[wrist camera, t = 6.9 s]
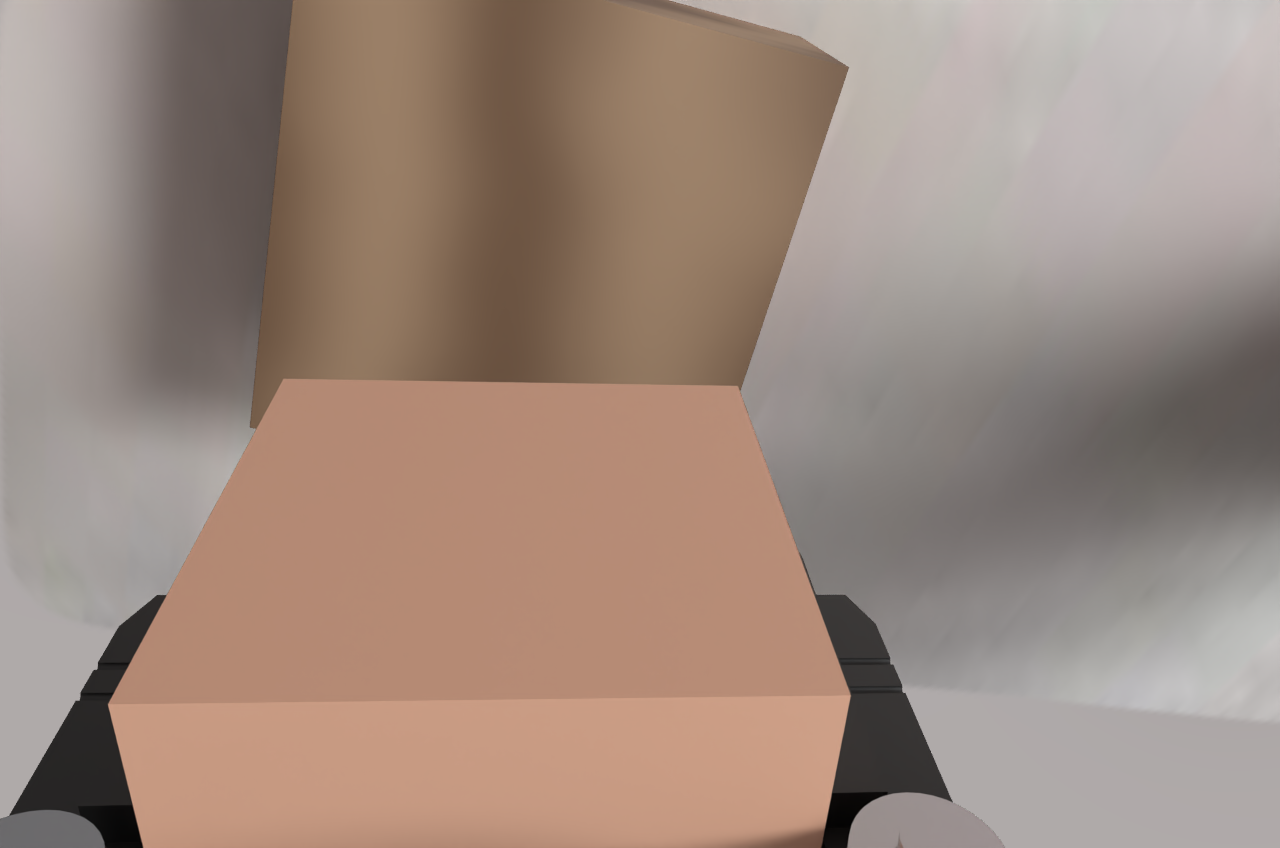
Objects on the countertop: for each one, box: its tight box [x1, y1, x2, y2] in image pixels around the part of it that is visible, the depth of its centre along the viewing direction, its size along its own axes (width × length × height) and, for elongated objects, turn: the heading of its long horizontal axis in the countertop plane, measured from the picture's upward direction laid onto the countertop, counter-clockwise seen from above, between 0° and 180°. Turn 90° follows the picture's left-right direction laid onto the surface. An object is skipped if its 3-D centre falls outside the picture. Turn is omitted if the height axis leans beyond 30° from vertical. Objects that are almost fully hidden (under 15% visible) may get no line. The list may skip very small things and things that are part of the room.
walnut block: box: [250, 0, 849, 429], centre depth 25 cm, size 11×11×5 cm
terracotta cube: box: [108, 379, 851, 848], centre depth 10 cm, size 5×5×5 cm
